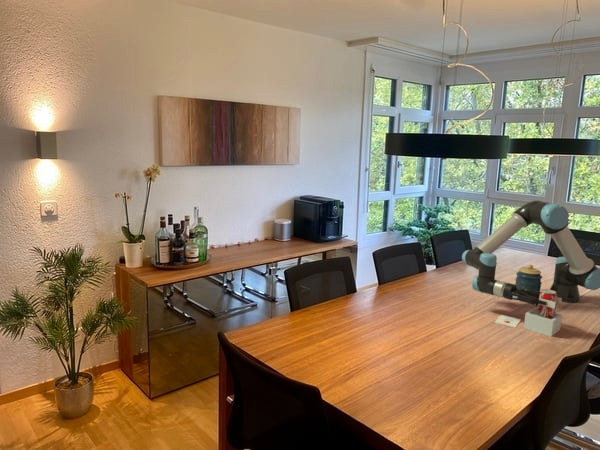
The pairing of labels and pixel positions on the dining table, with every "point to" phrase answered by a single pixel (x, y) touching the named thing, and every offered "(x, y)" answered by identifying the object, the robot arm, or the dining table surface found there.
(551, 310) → the soda can
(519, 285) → the canister
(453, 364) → the dining table surface
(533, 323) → the base block
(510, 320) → the cream flat plate
